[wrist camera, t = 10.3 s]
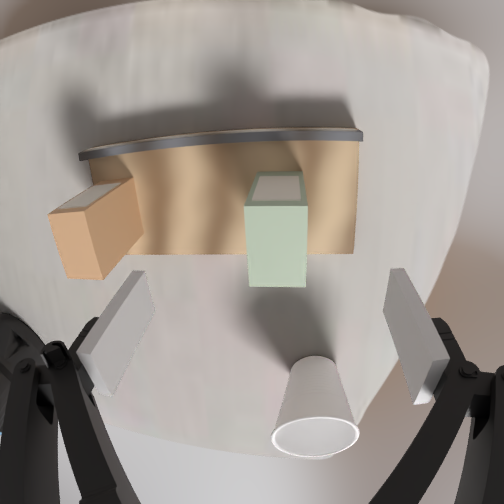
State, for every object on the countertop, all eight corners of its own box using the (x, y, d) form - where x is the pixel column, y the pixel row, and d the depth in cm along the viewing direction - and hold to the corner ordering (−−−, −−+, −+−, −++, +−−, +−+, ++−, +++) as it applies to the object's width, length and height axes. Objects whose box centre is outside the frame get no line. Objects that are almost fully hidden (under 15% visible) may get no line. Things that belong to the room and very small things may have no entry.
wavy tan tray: (114, 249, 35) (103, 261, 33) (92, 146, 30) (78, 152, 27) (351, 248, 32) (355, 261, 30) (356, 127, 26) (362, 130, 24)
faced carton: (112, 234, 33) (67, 278, 25) (100, 180, 30) (47, 213, 22) (144, 233, 32) (103, 279, 25) (133, 176, 30) (83, 209, 22)
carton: (260, 233, 31) (249, 286, 23) (257, 170, 28) (243, 204, 20) (302, 233, 31) (305, 287, 23) (302, 170, 28) (307, 204, 20)
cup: (293, 334, 38) (291, 408, 29) (364, 353, 39) (376, 424, 29) (266, 381, 43) (258, 449, 33) (329, 397, 43) (332, 461, 34)
